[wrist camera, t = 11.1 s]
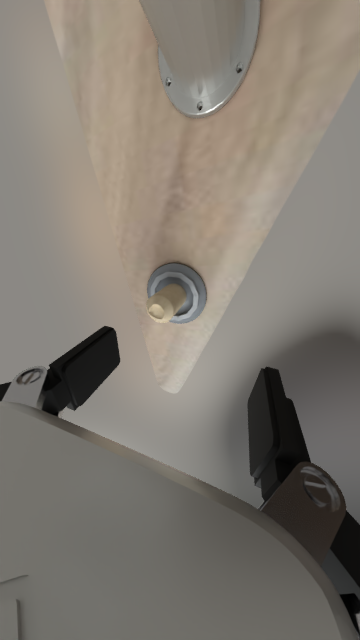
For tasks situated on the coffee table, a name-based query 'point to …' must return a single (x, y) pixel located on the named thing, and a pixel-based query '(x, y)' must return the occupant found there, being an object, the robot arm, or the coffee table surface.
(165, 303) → the candle
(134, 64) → the coffee table surface
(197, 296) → the candle dish
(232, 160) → the coffee table surface
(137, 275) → the coffee table surface
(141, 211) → the coffee table surface
